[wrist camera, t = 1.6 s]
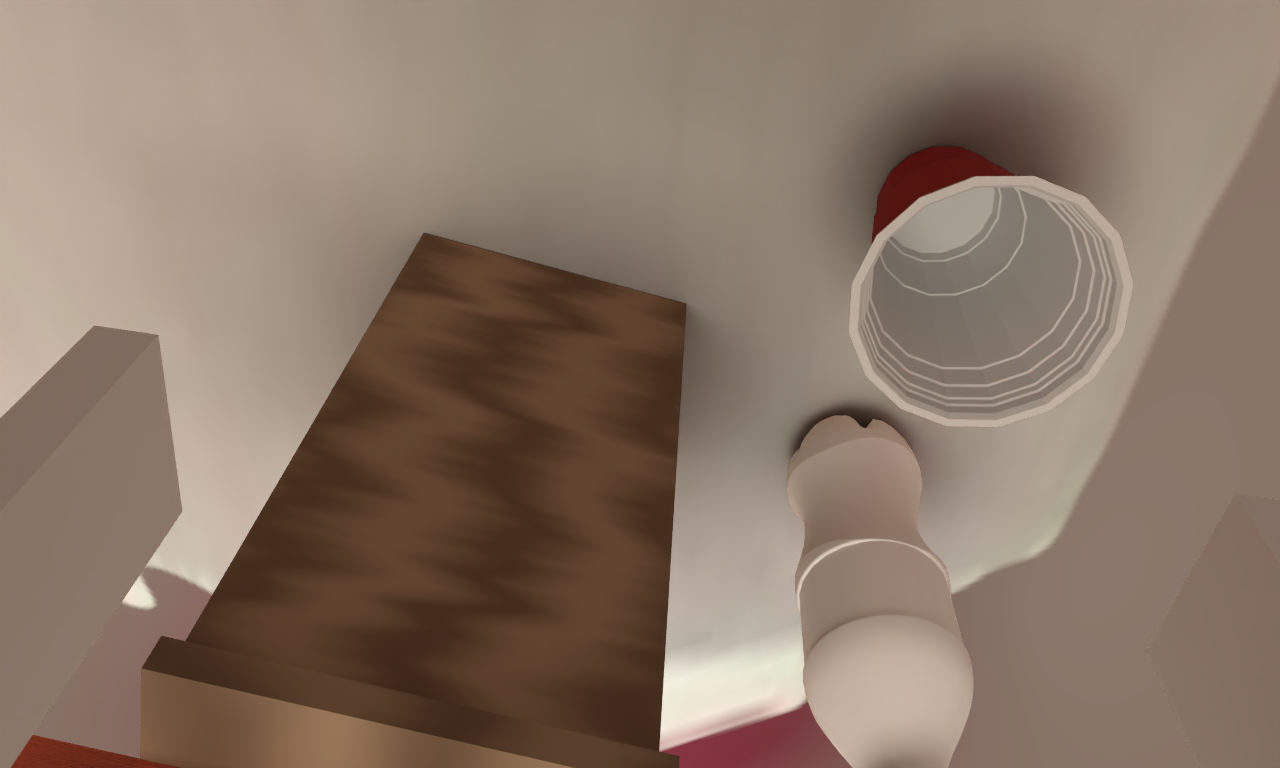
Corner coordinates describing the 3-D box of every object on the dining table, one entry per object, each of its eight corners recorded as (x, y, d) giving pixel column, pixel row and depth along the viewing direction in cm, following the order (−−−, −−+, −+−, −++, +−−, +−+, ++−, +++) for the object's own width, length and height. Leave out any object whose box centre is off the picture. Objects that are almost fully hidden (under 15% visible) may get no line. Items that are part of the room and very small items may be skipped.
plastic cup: (1048, 62, 48) (1137, 155, 37) (1056, 275, 53) (1136, 406, 43) (808, 113, 49) (830, 213, 39) (839, 313, 55) (866, 446, 45)
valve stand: (386, 395, 60) (138, 895, 34) (415, 221, 54) (141, 668, 28) (643, 461, 61) (587, 990, 35) (698, 298, 55) (678, 791, 30)
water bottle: (817, 519, 62) (866, 929, 41) (762, 430, 59) (784, 824, 38) (932, 474, 60) (1047, 884, 39) (881, 379, 57) (976, 768, 36)
